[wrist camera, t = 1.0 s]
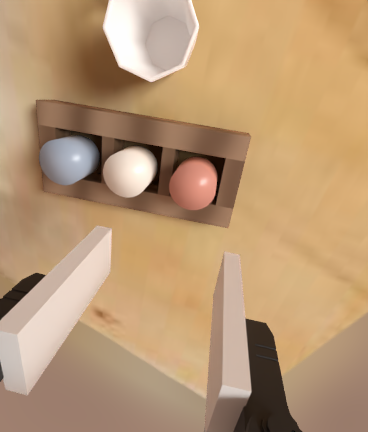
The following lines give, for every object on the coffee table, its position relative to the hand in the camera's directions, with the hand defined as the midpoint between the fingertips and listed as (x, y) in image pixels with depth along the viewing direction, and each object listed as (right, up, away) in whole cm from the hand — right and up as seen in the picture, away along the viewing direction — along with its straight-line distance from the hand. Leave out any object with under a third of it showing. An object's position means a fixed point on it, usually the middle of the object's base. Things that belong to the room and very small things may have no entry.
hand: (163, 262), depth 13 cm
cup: (-1, +20, +12) cm, 24 cm away
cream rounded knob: (-4, +8, +15) cm, 18 cm away
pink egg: (+2, +7, +15) cm, 16 cm away
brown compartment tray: (-4, +9, +18) cm, 20 cm away
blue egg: (-10, +9, +16) cm, 21 cm away
